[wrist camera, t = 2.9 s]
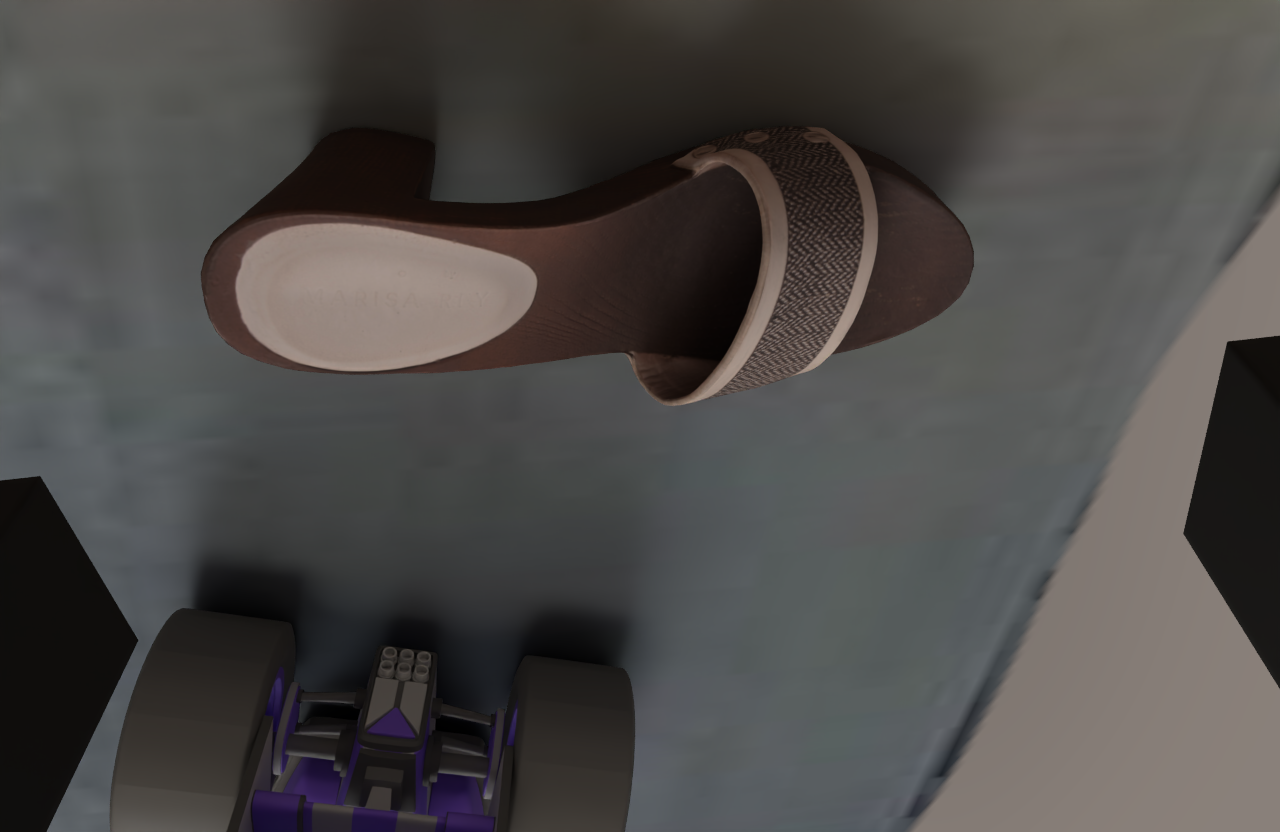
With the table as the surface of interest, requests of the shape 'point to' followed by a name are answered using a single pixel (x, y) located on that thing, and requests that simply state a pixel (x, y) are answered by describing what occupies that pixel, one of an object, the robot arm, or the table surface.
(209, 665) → the toy race car
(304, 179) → the heeled mule
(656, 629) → the table surface
